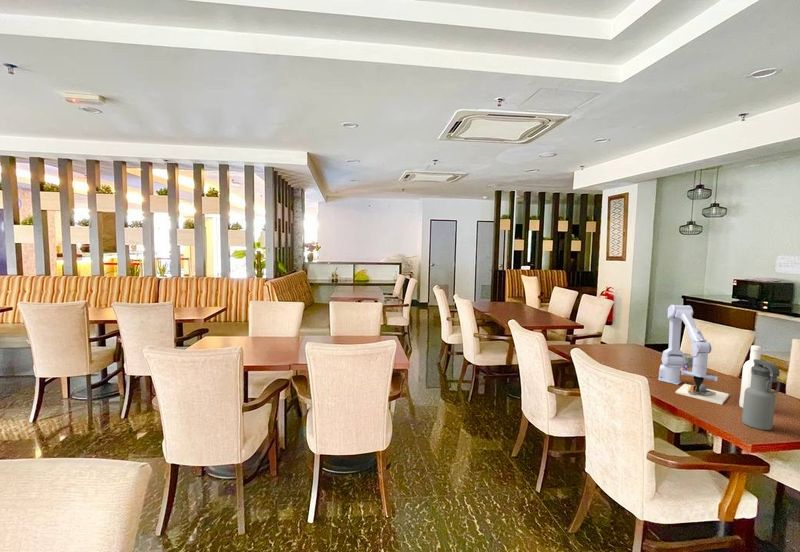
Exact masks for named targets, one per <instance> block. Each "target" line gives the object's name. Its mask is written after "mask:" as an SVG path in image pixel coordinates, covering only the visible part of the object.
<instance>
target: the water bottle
mask: <svg viewBox="0 0 800 552" xmlns="http://www.w3.org/2000/svg"><path fill="white" fill-rule="evenodd" d="M763 366H764V367H763ZM779 369H780V368H778V366H777V365H776V364H775V363H772V362H770V361H766V360H763V359H760V360H758V359H754V366H752V368H751V372H752V373H751V374H752V375H751V385H750V387H748V388H746V389H745V394H744V403H743V408H742V413H741V414H742V415H741V416H742V417H741V422H742V423H743V424H744V425H746V426H747V427H749V428H752V429H756V430H760V431H771V430H772V429H773V424H774V415H775V407H776V395H775V394H778V393H779V392H780V388H781V387H780V386H781V382H780V381H779V380H778V377H780V374H781V373H780V370H779ZM773 383H776V389H775V390H772V384H773Z"/></svg>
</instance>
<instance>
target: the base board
mask: <svg viewBox="0 0 800 552" xmlns="http://www.w3.org/2000/svg"><path fill="white" fill-rule="evenodd" d="M691 385H692V384H689V383H688V384H687V383H684V384H682V385H681V386H680V387H679V388H677V389H676V390H675V394H678V395H682V396H685V397H690V398H693V399H694V398H695V399H698V400H701V401H705V402H710V403H714V404H718V405H721V406H722V405H723V404H724V403H725V401H726V400H727V399H728V398H729V397H730V393H727V392H722V391H718V390H714V389H709V388H707V386H708V385H707V384H704V383H702V384H701V385H700V387H699V391H701V392H706V389H707V390H710V391H713V392H716V394H713V395H707V396H705V395H702V394H695V395H692V394H689V393H688V392H689V391H691Z"/></svg>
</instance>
